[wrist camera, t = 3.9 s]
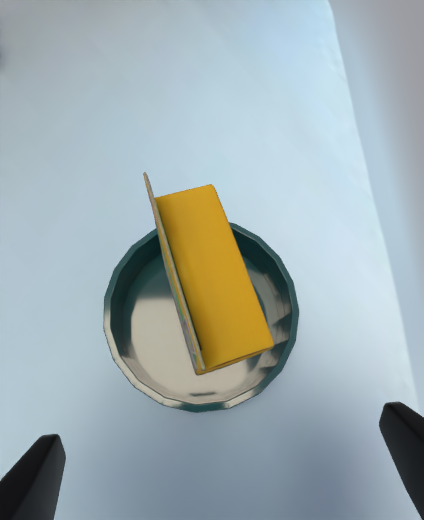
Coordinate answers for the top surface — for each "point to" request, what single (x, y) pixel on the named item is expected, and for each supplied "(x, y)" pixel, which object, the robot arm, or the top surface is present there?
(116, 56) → the top surface
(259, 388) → the tin
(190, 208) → the crayon box
